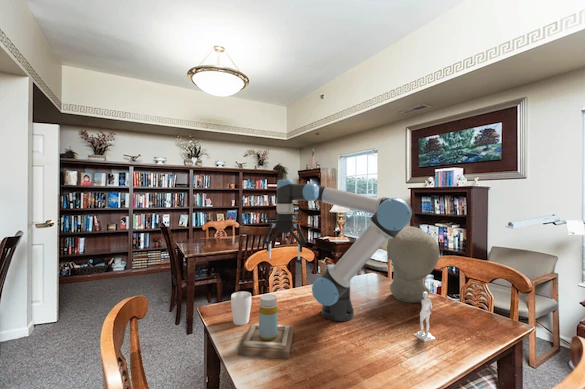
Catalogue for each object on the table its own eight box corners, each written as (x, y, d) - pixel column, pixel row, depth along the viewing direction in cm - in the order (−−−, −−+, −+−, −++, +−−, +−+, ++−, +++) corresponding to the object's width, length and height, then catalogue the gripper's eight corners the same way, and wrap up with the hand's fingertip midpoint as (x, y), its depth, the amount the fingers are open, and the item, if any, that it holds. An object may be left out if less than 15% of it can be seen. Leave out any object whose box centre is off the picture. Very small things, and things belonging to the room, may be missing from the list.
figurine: (429, 331, 115) (429, 288, 116) (441, 339, 109) (441, 293, 109) (411, 333, 114) (411, 289, 114) (422, 342, 107) (422, 295, 107)
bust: (441, 299, 151) (442, 226, 151) (436, 319, 127) (437, 231, 127) (393, 290, 164) (394, 223, 164) (380, 307, 140) (381, 228, 140)
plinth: (293, 332, 113) (293, 323, 113) (288, 358, 95) (289, 348, 95) (250, 330, 115) (250, 321, 115) (237, 355, 97) (237, 344, 97)
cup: (247, 327, 117) (247, 299, 117) (227, 325, 119) (227, 297, 119) (254, 318, 126) (254, 292, 126) (235, 316, 128) (235, 290, 128)
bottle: (259, 332, 108) (259, 294, 108) (277, 331, 109) (277, 293, 109) (258, 341, 101) (258, 300, 102) (277, 341, 102) (277, 300, 102)
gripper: (311, 212, 131) (311, 257, 131) (259, 212, 134) (259, 256, 134) (311, 213, 124) (310, 261, 124) (256, 213, 126) (256, 259, 126)
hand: (284, 258), depth 129 cm, fingers open, 13 cm apart
